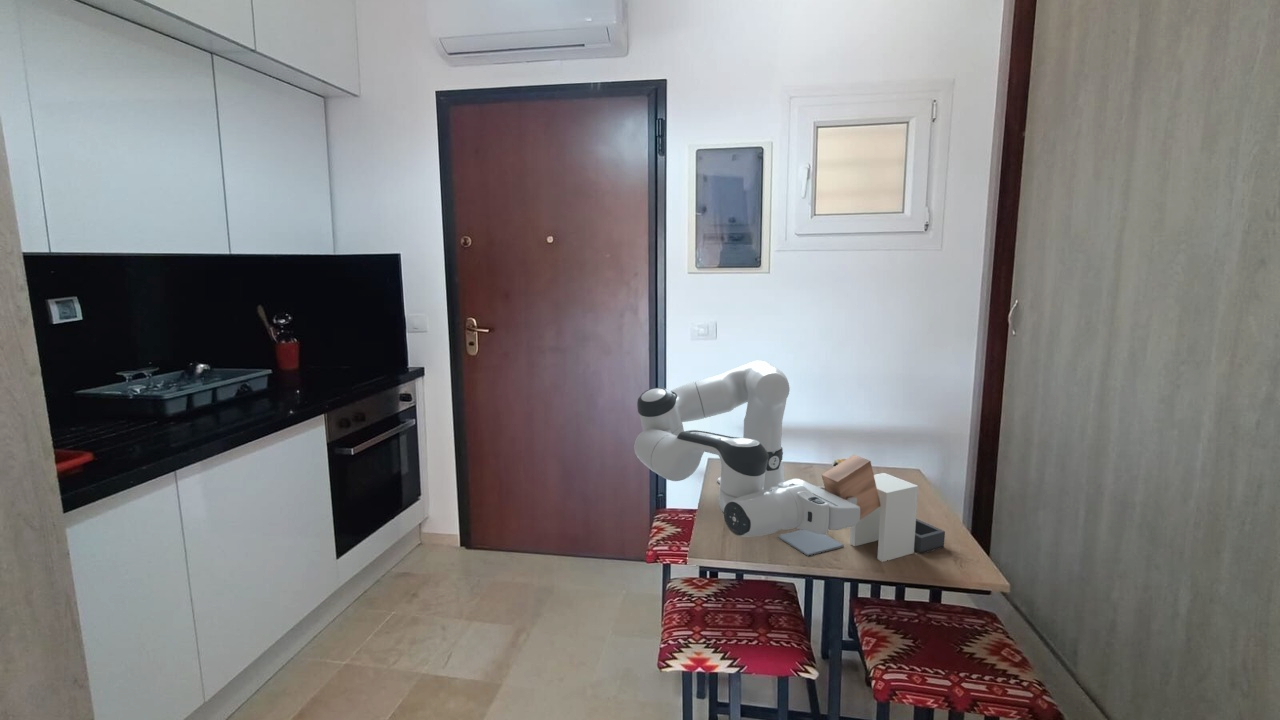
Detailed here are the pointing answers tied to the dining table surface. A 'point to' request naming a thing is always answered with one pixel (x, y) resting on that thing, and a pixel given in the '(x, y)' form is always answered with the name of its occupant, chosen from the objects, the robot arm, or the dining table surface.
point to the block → (854, 483)
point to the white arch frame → (890, 519)
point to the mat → (810, 542)
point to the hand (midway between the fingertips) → (843, 495)
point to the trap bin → (927, 537)
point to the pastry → (837, 462)
